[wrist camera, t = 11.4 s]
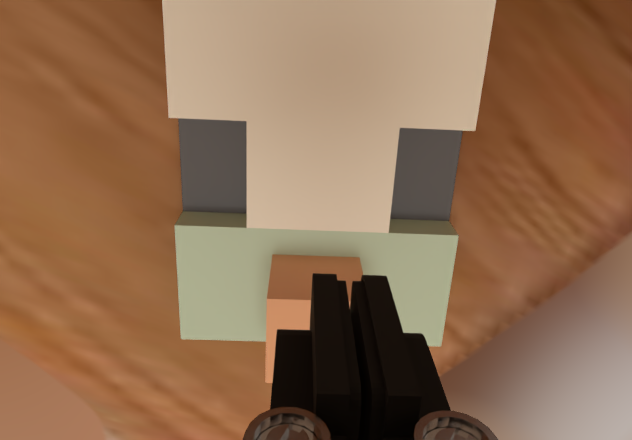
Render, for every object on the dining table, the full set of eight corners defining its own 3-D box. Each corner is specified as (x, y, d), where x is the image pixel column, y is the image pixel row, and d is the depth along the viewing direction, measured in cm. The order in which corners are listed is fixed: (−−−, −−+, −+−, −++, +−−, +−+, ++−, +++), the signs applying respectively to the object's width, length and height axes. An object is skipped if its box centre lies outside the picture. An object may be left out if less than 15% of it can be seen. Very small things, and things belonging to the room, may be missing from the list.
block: (272, 254, 31) (266, 298, 26) (359, 257, 31) (369, 301, 26) (271, 328, 32) (265, 382, 28) (353, 331, 33) (361, 385, 28)
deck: (173, -18, 27) (161, -21, 25) (480, -2, 28) (496, -3, 26) (189, 316, 35) (180, 338, 33) (432, 324, 35) (441, 346, 33)
